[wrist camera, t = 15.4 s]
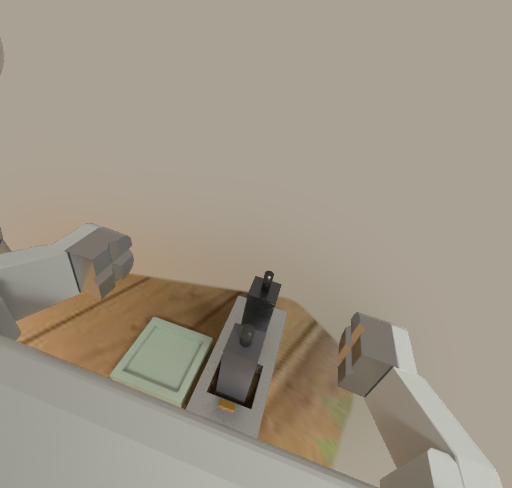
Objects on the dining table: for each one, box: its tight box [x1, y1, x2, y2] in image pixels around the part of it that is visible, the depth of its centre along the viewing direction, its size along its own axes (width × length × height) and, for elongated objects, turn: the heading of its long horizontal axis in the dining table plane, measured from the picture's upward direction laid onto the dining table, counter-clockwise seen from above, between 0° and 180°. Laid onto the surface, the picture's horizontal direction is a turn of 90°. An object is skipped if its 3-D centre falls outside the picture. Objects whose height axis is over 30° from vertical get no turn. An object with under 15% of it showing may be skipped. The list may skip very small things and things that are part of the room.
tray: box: [110, 317, 213, 408], centre depth 39 cm, size 10×10×2 cm
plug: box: [215, 323, 266, 406], centre depth 34 cm, size 4×4×13 cm
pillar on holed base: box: [185, 271, 287, 438], centre depth 37 cm, size 20×9×14 cm, turn 164°
